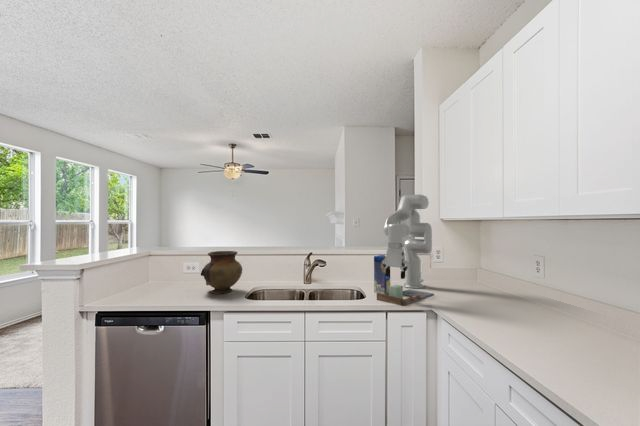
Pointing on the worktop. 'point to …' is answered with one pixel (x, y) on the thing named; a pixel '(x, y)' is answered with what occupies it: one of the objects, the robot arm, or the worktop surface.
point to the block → (396, 291)
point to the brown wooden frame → (397, 299)
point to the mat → (416, 293)
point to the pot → (222, 271)
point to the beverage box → (380, 275)
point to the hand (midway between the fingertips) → (395, 277)
